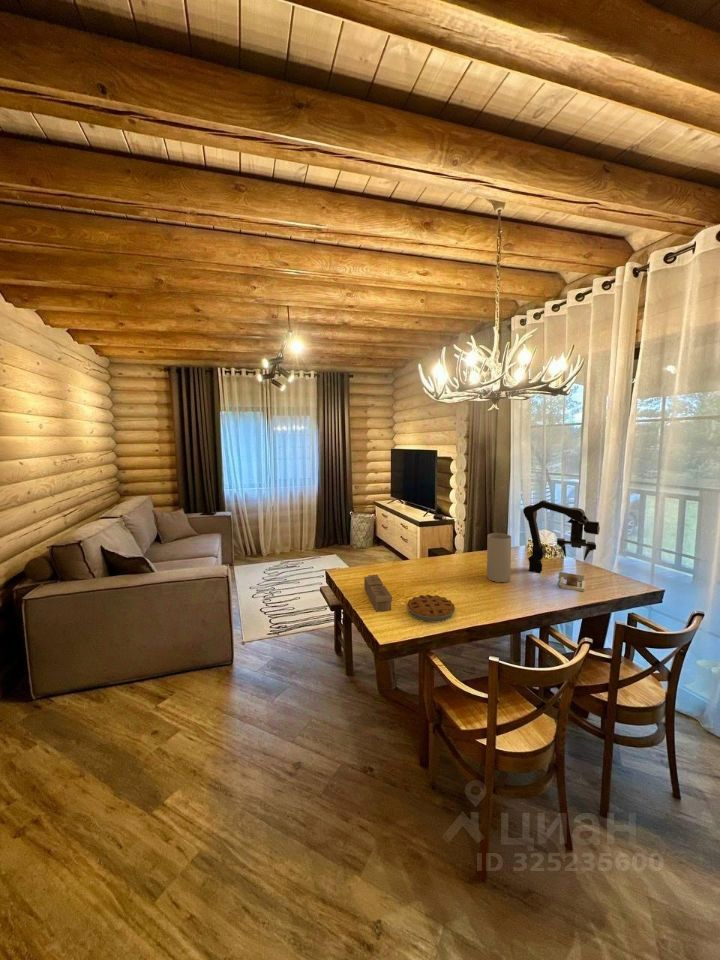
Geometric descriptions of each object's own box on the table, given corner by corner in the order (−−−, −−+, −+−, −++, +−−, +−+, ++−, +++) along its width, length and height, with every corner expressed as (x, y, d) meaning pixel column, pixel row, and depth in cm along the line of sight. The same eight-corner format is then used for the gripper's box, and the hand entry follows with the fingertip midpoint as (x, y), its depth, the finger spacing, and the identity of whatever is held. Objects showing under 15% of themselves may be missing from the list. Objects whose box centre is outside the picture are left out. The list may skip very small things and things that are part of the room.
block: (566, 587, 196) (566, 576, 196) (566, 584, 201) (567, 573, 200) (577, 589, 194) (577, 578, 193) (577, 585, 198) (578, 575, 197)
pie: (463, 620, 163) (463, 610, 163) (417, 627, 159) (417, 616, 158) (442, 600, 185) (442, 590, 184) (401, 605, 180) (400, 595, 180)
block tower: (363, 590, 200) (376, 613, 172) (363, 575, 200) (375, 596, 171) (378, 589, 202) (392, 611, 173) (377, 574, 201) (391, 594, 172)
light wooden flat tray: (559, 587, 197) (559, 584, 196) (561, 579, 207) (561, 576, 207) (584, 591, 190) (584, 588, 190) (584, 583, 201) (584, 580, 201)
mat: (558, 578, 209) (558, 577, 209) (560, 572, 217) (560, 572, 217) (583, 582, 202) (583, 581, 202) (583, 576, 211) (583, 575, 211)
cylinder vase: (504, 574, 216) (505, 532, 213) (514, 582, 204) (515, 538, 201) (483, 575, 216) (484, 533, 213) (491, 583, 203) (492, 539, 201)
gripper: (557, 532, 202) (555, 560, 204) (597, 537, 193) (595, 566, 195) (557, 528, 211) (556, 554, 213) (596, 532, 202) (594, 559, 204)
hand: (574, 558), depth 206 cm, fingers open, 9 cm apart
